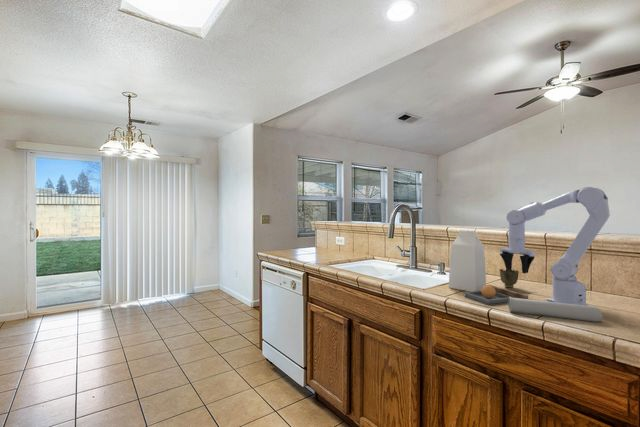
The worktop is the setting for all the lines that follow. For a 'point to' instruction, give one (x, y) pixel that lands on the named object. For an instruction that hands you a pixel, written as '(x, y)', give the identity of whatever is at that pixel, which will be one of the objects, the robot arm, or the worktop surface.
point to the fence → (510, 293)
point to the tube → (555, 309)
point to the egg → (488, 291)
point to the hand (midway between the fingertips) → (516, 271)
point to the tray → (489, 301)
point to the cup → (509, 277)
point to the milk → (467, 262)
